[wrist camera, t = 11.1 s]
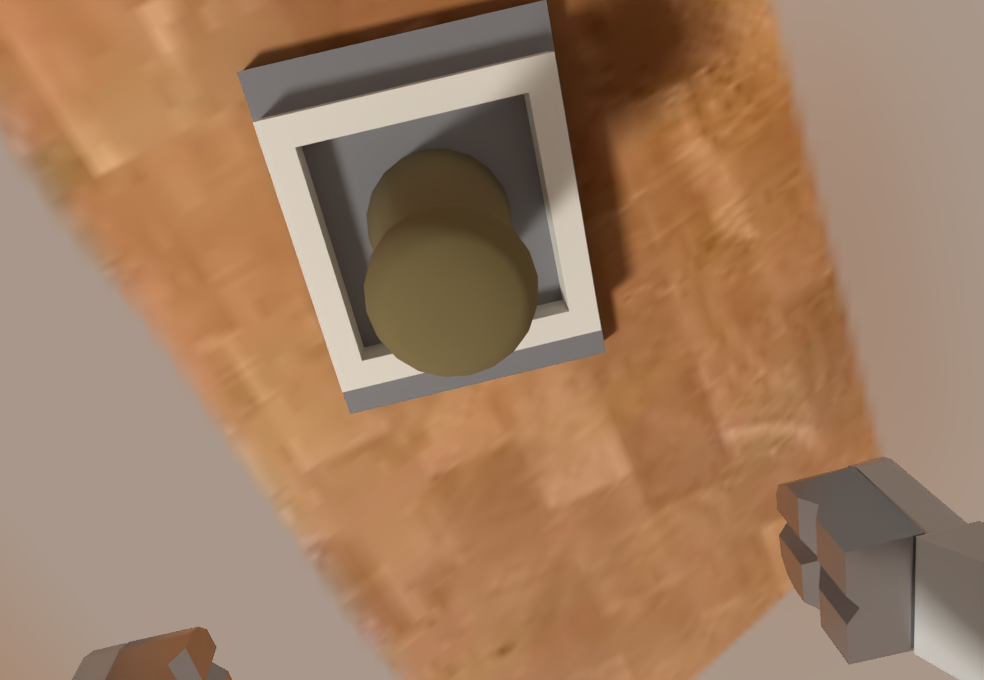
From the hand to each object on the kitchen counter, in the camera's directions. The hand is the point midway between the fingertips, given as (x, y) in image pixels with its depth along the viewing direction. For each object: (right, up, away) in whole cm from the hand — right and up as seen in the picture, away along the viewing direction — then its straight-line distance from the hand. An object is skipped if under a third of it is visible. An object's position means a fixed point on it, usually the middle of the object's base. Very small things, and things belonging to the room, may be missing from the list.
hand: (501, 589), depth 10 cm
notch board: (-2, +9, +21) cm, 23 cm away
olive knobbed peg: (-2, +8, +20) cm, 22 cm away
